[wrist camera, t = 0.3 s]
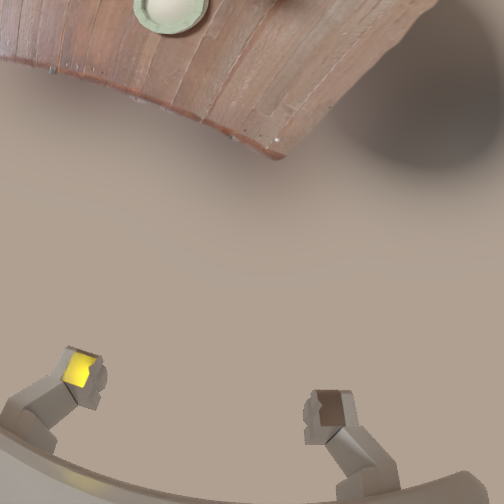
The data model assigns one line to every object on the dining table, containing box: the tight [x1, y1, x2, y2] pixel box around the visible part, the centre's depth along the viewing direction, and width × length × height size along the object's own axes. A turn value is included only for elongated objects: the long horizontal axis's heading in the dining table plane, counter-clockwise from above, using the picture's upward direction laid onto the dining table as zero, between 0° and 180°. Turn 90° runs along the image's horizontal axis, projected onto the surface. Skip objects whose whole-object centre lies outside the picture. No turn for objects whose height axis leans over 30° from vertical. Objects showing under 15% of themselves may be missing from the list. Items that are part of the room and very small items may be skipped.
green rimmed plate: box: [134, 0, 209, 34], centre depth 35 cm, size 14×14×2 cm
